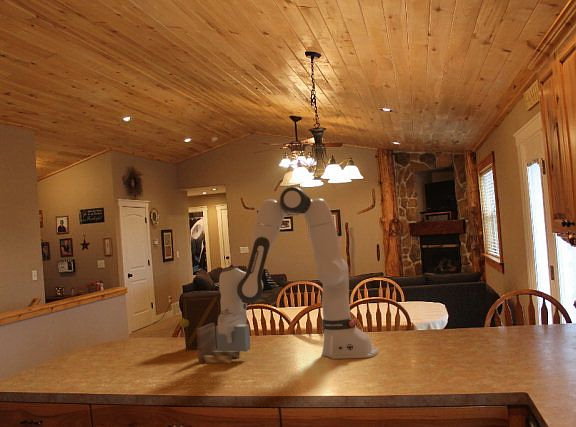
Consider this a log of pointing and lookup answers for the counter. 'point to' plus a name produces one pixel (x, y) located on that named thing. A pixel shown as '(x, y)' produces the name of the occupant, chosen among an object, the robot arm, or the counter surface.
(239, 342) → the box book
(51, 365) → the counter surface
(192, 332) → the book
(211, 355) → the wooden display stand
